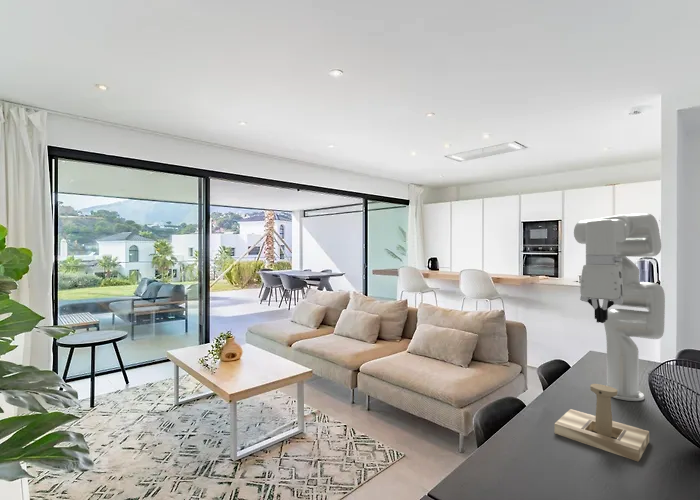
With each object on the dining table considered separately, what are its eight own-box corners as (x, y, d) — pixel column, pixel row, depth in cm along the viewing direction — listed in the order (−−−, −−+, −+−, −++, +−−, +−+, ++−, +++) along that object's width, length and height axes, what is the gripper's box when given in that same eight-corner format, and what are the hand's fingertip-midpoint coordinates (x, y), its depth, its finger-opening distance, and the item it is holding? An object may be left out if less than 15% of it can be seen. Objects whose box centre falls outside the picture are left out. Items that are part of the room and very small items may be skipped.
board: (570, 418, 120) (570, 408, 120) (649, 441, 105) (649, 430, 105) (554, 433, 110) (554, 423, 110) (638, 461, 96) (638, 449, 96)
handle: (613, 447, 102) (613, 393, 102) (587, 438, 108) (587, 386, 107) (620, 441, 105) (620, 389, 105) (594, 432, 111) (594, 382, 110)
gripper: (634, 260, 108) (634, 323, 108) (576, 259, 119) (577, 316, 120) (628, 262, 103) (628, 328, 103) (568, 261, 114) (569, 320, 114)
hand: (601, 321), depth 111 cm, fingers closed
